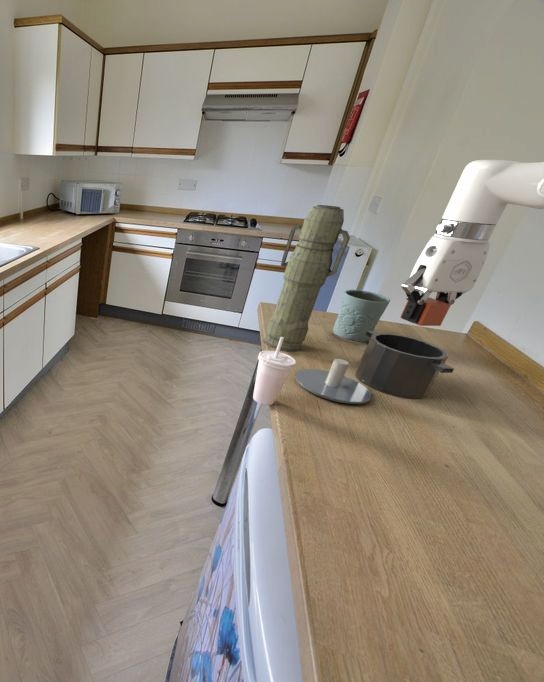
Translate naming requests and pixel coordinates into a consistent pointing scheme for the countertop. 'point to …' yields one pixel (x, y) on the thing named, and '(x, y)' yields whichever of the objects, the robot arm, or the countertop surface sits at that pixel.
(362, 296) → the green embossed cup
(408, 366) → the pot
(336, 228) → the thermos
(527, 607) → the countertop surface
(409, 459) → the countertop surface
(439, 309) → the block
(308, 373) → the lid
